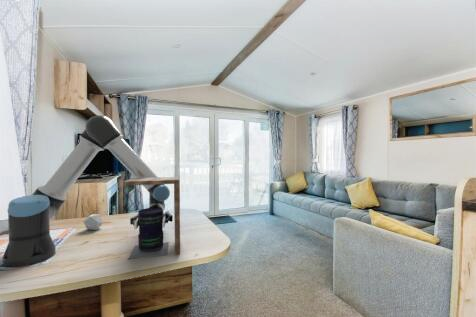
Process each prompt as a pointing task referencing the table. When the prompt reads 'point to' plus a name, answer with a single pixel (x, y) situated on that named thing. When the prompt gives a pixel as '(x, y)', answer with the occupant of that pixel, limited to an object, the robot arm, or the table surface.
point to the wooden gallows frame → (131, 183)
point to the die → (93, 222)
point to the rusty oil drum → (150, 228)
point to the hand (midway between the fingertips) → (149, 225)
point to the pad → (148, 252)
